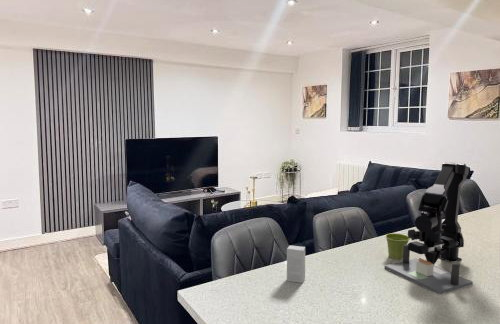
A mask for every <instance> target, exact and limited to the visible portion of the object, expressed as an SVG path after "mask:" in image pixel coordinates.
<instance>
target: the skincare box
mask: <svg viewBox="0 0 500 324" xmlns="http://www.w3.org/2000/svg"><path fill="white" fill-rule="evenodd" d="M305 280H306V246H301V245H300V246H299V245H298V246H297V245H292V244H291V245H288V247H287V248H286V281H287V282H290V283H299V284H304V281H305Z"/></svg>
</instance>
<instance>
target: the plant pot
mask: <svg viewBox="0 0 500 324" xmlns="http://www.w3.org/2000/svg"><path fill="white" fill-rule="evenodd" d="M385 238H386V241H387V250H388V257H389V258H392V259H394V260H403V245H405V244H406V245H408V243H409V241H410V239H411V238H408V235H406V234H403V233H394V232H393V233H387V234H385Z"/></svg>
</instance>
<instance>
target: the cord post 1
mask: <svg viewBox="0 0 500 324" xmlns="http://www.w3.org/2000/svg"><path fill="white" fill-rule="evenodd" d="M410 254H411V251H410V250H408V244H407V245H406V244H405V245H403V258H402V261H403V263H404V264H409V260H410V257H411V256H410Z"/></svg>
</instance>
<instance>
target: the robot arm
mask: <svg viewBox="0 0 500 324" xmlns="http://www.w3.org/2000/svg"><path fill="white" fill-rule="evenodd" d="M469 171H470V168H469V166H467V164H466V163H461V162H459V163H458V162H450V161H449V162H448V161H447V162H446V161H445V162H443V163H442V164H441V170H440V172H439V174H438V176H437V178H436V180H435V182H434V184H433V185H432V186H429V187H428V188H427V189H426V191H425V192H424V193H422V197H421V200H420V203H419V206H418V211H419V212H420V215H418V216H417V217H416V218H415V220H414V226H415V228H416V229H417V230H416V229H408V230H407V236H408V238H410V239H411V241H410V242H408V243H407V245H408V250H410V252H412V253H415V254H418V255H424V257H425V260H426V261H428V262H431V263H432V264H434V265H435V264H436V263H437V261H439V259H442V260H444V261H447V262H449V263H456V262H459V261H462V259H463V258H461V257H459V253H460V252H459V250H460V248H464V247H465V239H464V236H463V233H462V227H461V225H460V223H459V222H458V220H459V219H458V218H459V209H460V199H461V191H462V190H461V189H462V188H461V187H462V185H463V183H464V182H465V181H466V180H467V178H468V175H469V173H470V172H469ZM444 212H445V213H444ZM443 214H445V215H444V220H443ZM417 240H418V241H417Z"/></svg>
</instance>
